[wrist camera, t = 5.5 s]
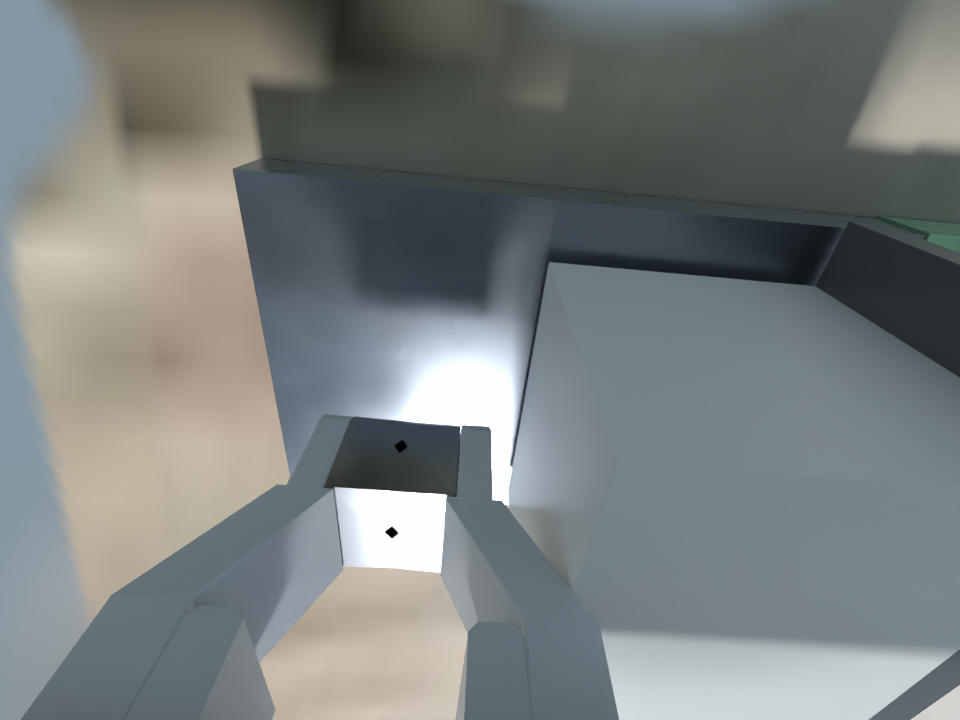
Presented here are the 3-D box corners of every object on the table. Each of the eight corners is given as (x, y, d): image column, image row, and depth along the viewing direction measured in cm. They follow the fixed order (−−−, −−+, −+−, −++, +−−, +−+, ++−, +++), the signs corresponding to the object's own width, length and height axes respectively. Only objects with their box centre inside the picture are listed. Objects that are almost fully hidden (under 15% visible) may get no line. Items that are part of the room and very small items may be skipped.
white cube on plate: (882, 224, 8) (1362, 400, 4) (708, 535, 12) (826, 778, 8) (561, 192, 8) (658, 342, 3) (502, 521, 12) (511, 764, 8)
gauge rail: (1220, 249, 10) (2121, 459, 4) (967, 506, 14) (1262, 768, 9) (261, 155, 9) (-76, 272, 3) (308, 458, 13) (188, 716, 8)
